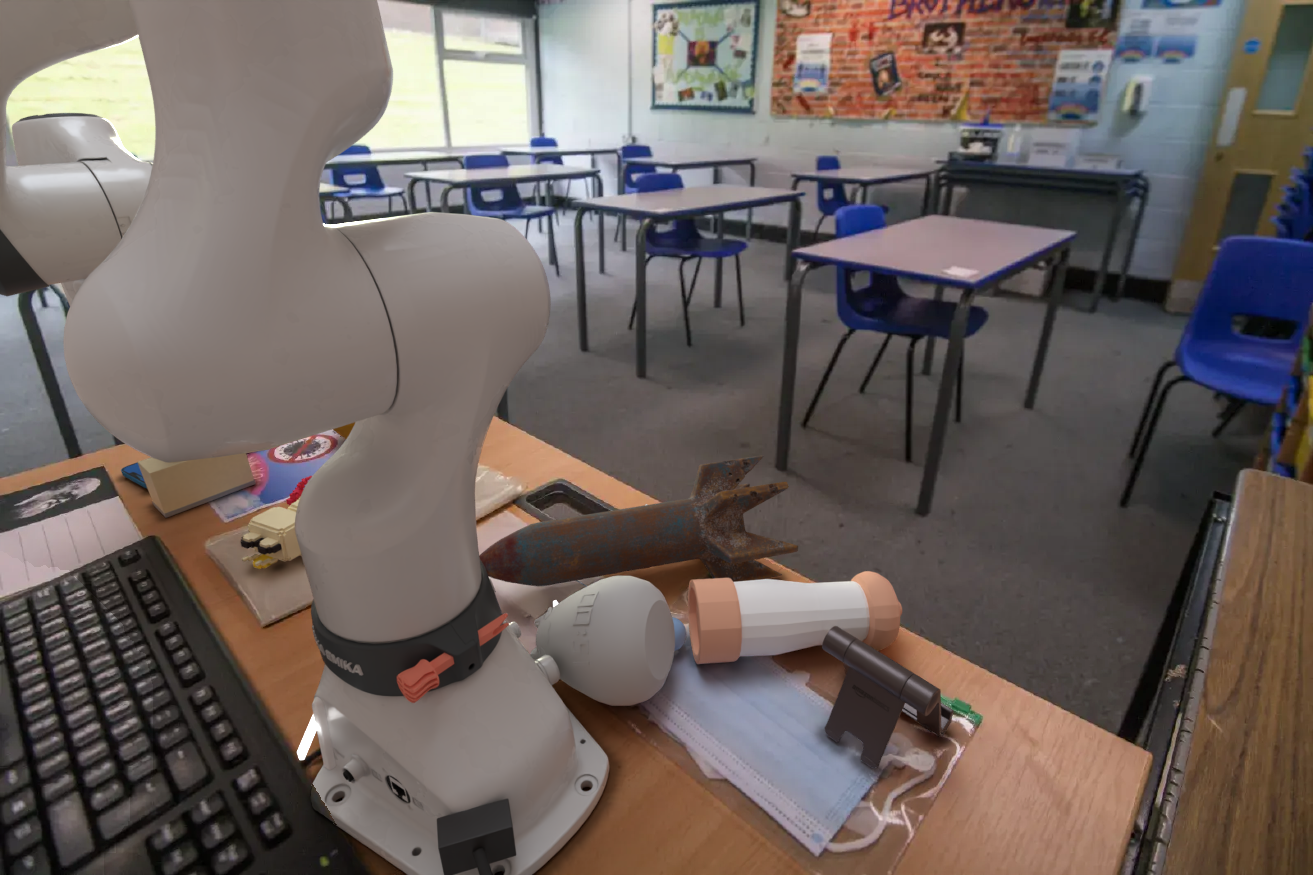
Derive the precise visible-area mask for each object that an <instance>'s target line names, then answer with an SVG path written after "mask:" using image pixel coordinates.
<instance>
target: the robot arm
mask: <svg viewBox="0 0 1313 875" xmlns="http://www.w3.org/2000/svg"><path fill="white" fill-rule="evenodd" d="M136 38H138V40H139V44H140V48H141V51H142V52H141V53H142V57H143V60H144V64H145V69H146V73H147V78H148V80H149V86H150V92H151V96H152V102H153V111H154V112H153V113H154V132H155V133H154V134H155V135H154V150H153V151H154V152H153V160H152V162H151V161H149V160H146V161H145V160H141V159H139V158H137V157H136V156H134V154H132V153H131V152H130V151H128V150H127V149H126V148H125V146H124V145H123V142H122V141H121V138H120V137H119V134H118V132H117V130H116V128H115V127H114V125H113V123H112V122H111V121H110V120H109V119H107V118H105V117H103V116H100V115H97V114H93V113H84V112H54V113H44V114H34V115H28V116H25V117H22V118H20V119H19V120H17V121H16V122H14V123H13V124H12V125H11V134H12V140H13V146H14V152H15V155H16V159H17V163H18V165H7V105H8V100H9V98H10V96H11V95H12V92H14V91H15V89H16V88H17V87H18V86H19V85H20V84H21V83H23V82H24V81H26V80H27V79H28V78H30V77H31V76H33V75H35V74H37V73H39V72H41V71H43V70H45V69H47V68H50V67H52V66H55V65H57V64H59V63H62V62H65V61H67V60H70V59H73V58H76V57H79V56H82V55H86V54H90V53H93V52H97V51H102V50H105V49H109V48H115V47H116V46H120V45H123V44H125V43H128V42H130V41H132V40H134V39H136ZM393 85H394V68H393V65H392V59H391V56H390V51H389V46H388V42H387V38H386V34H385V28H384V24H383V19H382V15H381V11H380V7H379V3H378V0H0V295H1V296H4V297H10V296H15V295H19V294H23V293H27V292H31V291H35V290H36V291H37V290H40V289H44V288H48V287H50V285H57V284H61V287H62V289H63V292H64V294H65V297H66V300H67V302H68V306H69V309H68V311H67V314H66V318H65V322H64V327H63V328H64V329H63V339H62V340H63V341H62V344H63V356H64V361H65V366H66V370H67V374H68V376H69V379H70V382H71V384H72V387H73V388H74V392H75V393H76V395H77V396H78V398H79V400H80V401H81V403H82V404H83V406H84V408H86V410H87V411H88V412H89V414H90V415H91V416H92V418H94V420H96V421H97V423H98V424H99V425H101V426H102V427H103V429H105V430H106V431H107V432H108V433H109V434H111V435H112V436H113V437H114V438H116V439H117V440H119V441H120V442H121V443H123V444H125V445H126V446H128V447H129V448H131V449H133V450H135V451H137V452H138V453H141V454H143V455H146V456H147V457H149V458H150V457H152V458H155V459H158V460H161V461H164V462H168V463H171V462H180V461H189V460H197V459H206V458H215V457H223V456H230V455H236V454H243V453H246V454H248V453H256V452H262V451H263V452H264V451H268V450H272V449H275V448H278V447H281V446H284V445H288V444H291V443H294V442H296V441H300V440H303V439H307V438H310V437H313V436H317V435H319V434H323V433H325V432H328V431H332V430H333V429H335V428H338V427H341V426H345V425H348V424H351V423H354V422H355V425H354V427H353V429H352V431H351V432H350V434H349V436H348V437H347V439H345V440H344V442H343V443H342V444H341V446H340V447H339V448H338V449H337V450H336V451H335V452H334V453H333V454H332V455H331V456H330V457H329V458H327V460H325V462H324V463H323V464H322V465H321V466H320V467H319V468H318V469H317V470H316V471H315V472H314V474H313V475H311V476H312V477H311V479H309V480H308V483H307V484H306V485H305V488H303V489H304V490H303V492H302V494H301V497H300V500H299V503H298V507H297V511H296V517H295V533H296V537H297V541H298V544H299V548H300V551H301V555H302V556H301V560H302V563H303V567H304V570H305V573H306V577H307V580H308V585H309V588H310V591H311V595H312V601H311V606H310V615H311V622H312V625H311V629H312V634H313V638H314V642H315V644H316V646H317V649H318V650H319V654H320V656H321V659H322V661H323V663H324V666H323V670H322V673H321V677H320V680H319V683H318V686H317V688H316V691H315V693H314V696H313V701H312V703H311V709H312V716H311V718H310V720H309V723H308V725H307V727H306V730H305V731H304V734H303V737H302V739H301V741H300V744H299V746H298V749H297V751H296V754H297V757H298V759H299V761H304V760H305V759H306V756H307V754H308V752H309V749H310V747H311V745H312V742H313V740H314V737H315V735H316V734H317V739H318V744H319V748H320V753H321V758H322V763H323V765H322V766H321V768H320V769H319V771H318V773H317V774H316V775H315V776H316V777H315V778H314V780H313V782H312V784H313V785H314V787H315V788H316V791H317V792H318V793H319V795H320V797H321V800H322V801H323V802H324V803H325V806H327V808H328V810H329V811H330V813H331V814H330V815H331V816H332V818H333V819H334V821H335V823H336V824H337V825H336V827H337V828H340V829H341V830H342V831H344V832H345V833H346V834H348V835H350V836H351V837H352V838H354V839H355V840H357V841H358V842H360V843H361V844H362V845H364V846H366V847H368V849H370V850H371V851H373V852H374V853H376V854H377V855H379V856H380V857H382V858H383V859H384V860H385V861H387V862H389V863H390V864H392V865H393V866H394V867H396V868H397V869H398V870H400V871H402V872H403V873H404V874H406V875H495V874H497V873H498V872H502V873H503V875H534V874H535V873H536V872H537V871H538V870H540V869H541V868H542V867H544V865H546V864H547V863H548V861H550V860H551V859H552V858H553V857H554V856H555V855H556V854H557V853H558V852H559V851H560V850H561V849H562V848H563V847H564V846H565V845H566V844H567V843H569V840H571V838H572V837H573V836H574V835H575V834H576V833H577V832H578V831H579V830H580V828H581V827H582V825H584V823H585V822H586V821H587V820H588V818H589V817H590V815H591V814H592V812H593V810H595V808H596V806H597V805H598V802H599V801H600V799H601V797H602V795H603V793H604V790H605V788H606V785H607V782H608V779H609V773H610V761H609V757H608V755H607V753H606V752H605V751H604V750H603V748H602V747H601V746H600V744H598V741H596V740H595V738H594V737H593V736H592V735H591V734H590V733H589V732H588V730H587V729H586V728H585V726H583V725H582V723H581V722H580V721H579V720H578V718H577V717H576V716H575V715H574V714H573V712H571V710H570V709H569V708H568V707H567V705H566V704H565V703H564V702H563V700H562V698H561V696H560V695H559V694H558V692H557V691H556V690H555V688H554V687H553V686H554V685H555V684H557V683H558V682H559V681H560V680H561V679H560V672H559V669H558V666H557V664H556V662H555V661H554V660H553V658H552V657H551V656H549V655H544V656H542V657H540V658H538V659H536V660H534V659H533V658H532V657H531V656H530V654H531V653H529V651H528V650H527V648H526V647H525V646H524V644H523V642H522V641H521V640H520V638H521V637H522V630H521V628H520V625H519V624H518V623H517V622H516V621H510V622H507V621H506V619H507V618H508V617H509V614H508V613H507V612H505V613H503V611H502V609H501V606H500V603H499V600H498V598H497V595H496V592H497V591H496V589H495V586H494V583H493V580H492V578H491V577H489V576H488V574H487V571H486V569H485V566H484V565H483V563H482V561H481V560H480V559H479V555H480V551H479V540H478V528H477V527H478V526H477V514H476V512H477V511H476V483H477V482H476V480H477V474H478V467H479V463H480V458H481V455H482V451H483V447H484V444H485V442H486V437H487V435H488V432H489V429H490V427H491V424H492V421H493V418H494V416H495V414H496V412H497V410H498V407H499V405H500V403H501V401H502V399H503V397H504V395H505V393H506V391H507V390H508V388H509V386H510V385H511V383H512V381H513V380H514V378H515V377H516V375H518V372H519V371H520V370H521V369H522V367H523V366H524V365H525V363H526V362H528V360H529V359H530V358H531V357H532V356H533V354H534V353H535V352H536V351H537V350H538V349H539V348H540V346H541V345H542V343H543V341H544V338H545V336H546V334H547V330H548V327H549V323H550V317H551V308H552V307H551V306H552V305H551V304H552V303H551V302H552V300H551V299H552V298H551V290H550V284H549V281H548V277H547V273H546V270H545V267H544V265H543V262H542V261H541V258H540V256H539V254H538V253H537V251H536V250H535V248H534V247H533V246H532V244H531V243H530V242H529V240H528V239H527V238H526V237H525V235H523V234H522V232H520V230H518V228H516V227H515V226H514V225H512V224H511V223H510V222H508V221H506V220H504V219H501V218H497V217H489V216H482V215H473V214H467V213H466V214H465V213H450V212H438V211H429V212H428V211H427V212H419V213H414V214H405V215H397V216H391V217H383V218H382V217H381V218H375V219H367V220H359V221H352V222H344V223H337V224H327V223H326V224H325V223H324V221H323V217H322V216H323V215H322V211H321V206H320V187H321V182H322V181H321V180H322V176H323V172H324V170H325V168H326V164H327V163H328V162H330V161H331V160H334V159H335V158H336V157H337V156H339V155H341V154H342V153H344V152H346V150H348V149H350V148H351V147H352V146H353V145H355V144H357V142H359V141H360V140H361V139H363V137H365V136H366V135H367V134H368V133H369V132H371V131H372V130H373V129H374V128H375V126H377V124H378V123H379V122H380V120H381V119H382V118H383V116H384V115H385V112H386V110H387V108H388V105H389V102H390V100H391V95H392V90H393ZM558 603H559V602H558V601H557V599H555V600H553V601H552V608H553V607H554V606H556V605H557V604H558ZM584 788H585V789H586V788H590V789H589V790H583V789H584ZM341 798H342V800H340V801H338V800H339V799H341Z"/></svg>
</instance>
